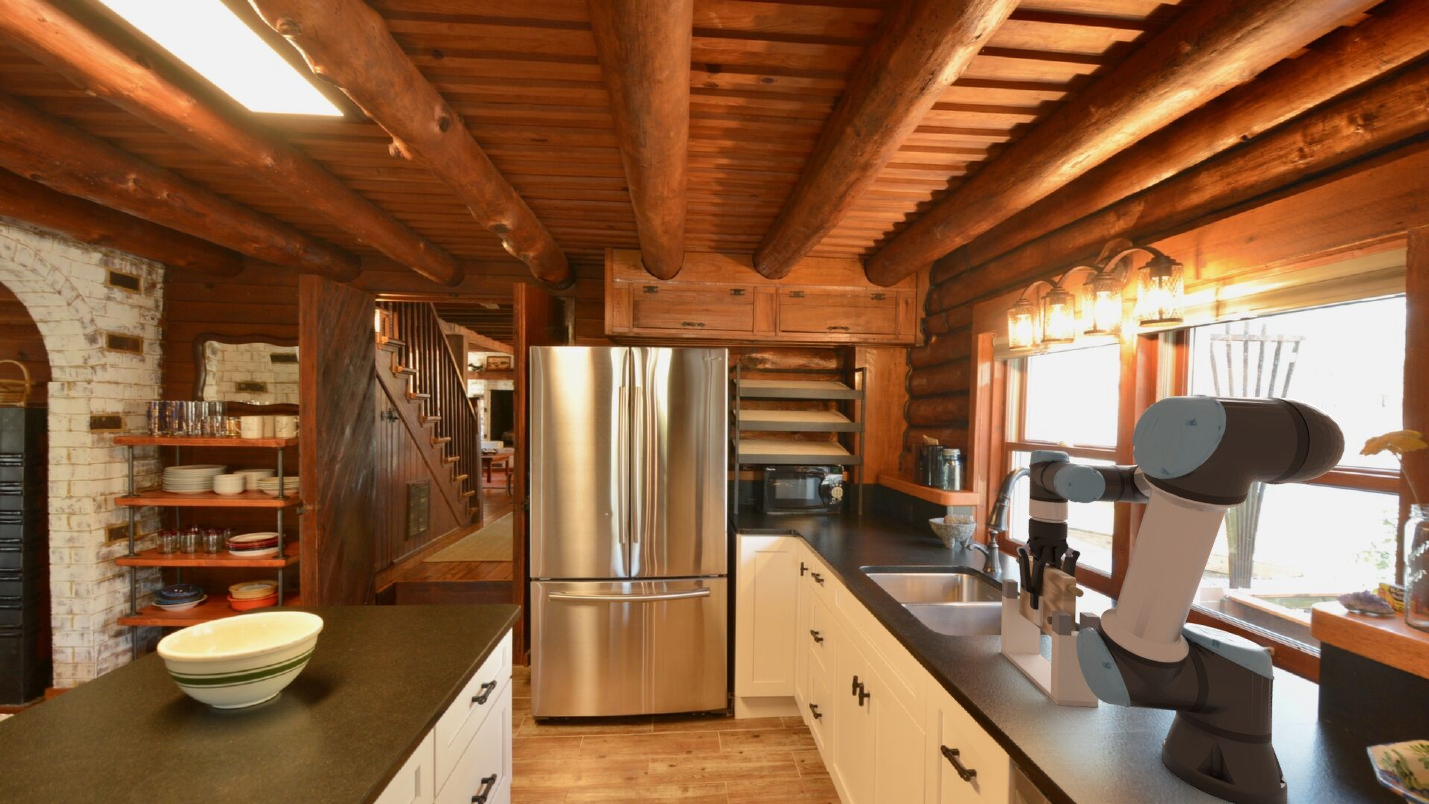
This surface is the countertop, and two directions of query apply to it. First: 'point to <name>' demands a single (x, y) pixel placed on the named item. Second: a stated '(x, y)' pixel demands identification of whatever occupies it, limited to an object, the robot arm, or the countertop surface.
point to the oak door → (1052, 596)
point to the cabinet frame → (1064, 670)
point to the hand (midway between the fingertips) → (1045, 624)
